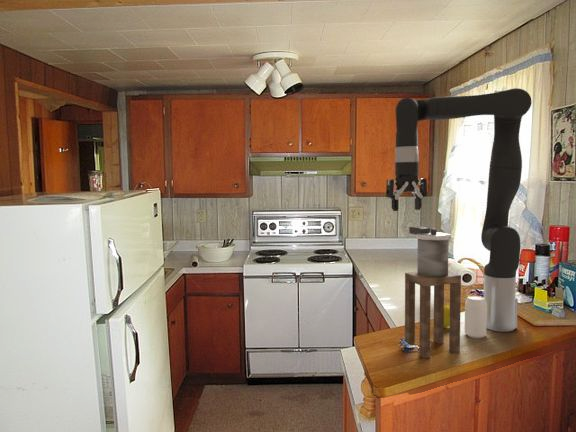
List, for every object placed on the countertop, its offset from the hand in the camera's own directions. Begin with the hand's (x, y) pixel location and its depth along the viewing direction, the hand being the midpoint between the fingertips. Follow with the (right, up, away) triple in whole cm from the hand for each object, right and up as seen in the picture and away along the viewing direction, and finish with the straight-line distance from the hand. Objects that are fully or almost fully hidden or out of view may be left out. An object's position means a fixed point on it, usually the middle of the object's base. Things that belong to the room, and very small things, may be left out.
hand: (406, 210), depth 149 cm
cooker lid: (+1, -8, -21) cm, 22 cm away
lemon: (+12, -39, -3) cm, 40 cm away
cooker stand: (+2, -40, -20) cm, 45 cm away
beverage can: (+18, -39, -10) cm, 44 cm away
